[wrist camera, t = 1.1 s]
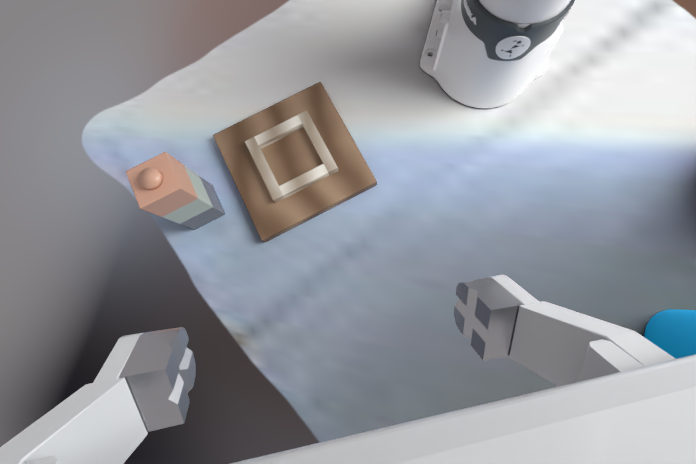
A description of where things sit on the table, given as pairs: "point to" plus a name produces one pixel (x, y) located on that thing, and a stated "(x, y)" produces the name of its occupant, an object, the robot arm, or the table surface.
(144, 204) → the brick tower
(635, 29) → the table surface
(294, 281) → the table surface
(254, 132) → the socket board
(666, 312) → the mug
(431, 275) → the table surface
